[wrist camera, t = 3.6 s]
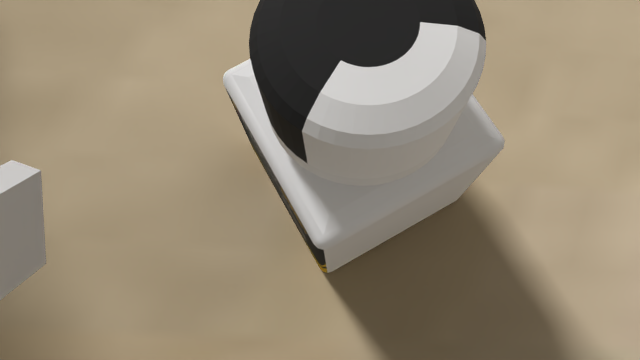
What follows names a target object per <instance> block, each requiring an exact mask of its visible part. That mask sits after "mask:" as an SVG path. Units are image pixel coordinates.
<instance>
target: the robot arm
mask: <svg viewBox="0 0 640 360" xmlns="http://www.w3.org/2000/svg"><path fill="white" fill-rule="evenodd" d="M45 264H46V253H45V235H44V217H43V199H42V181H41V170H38V169H35V168H33V167H30V166H27V165H24V164H21V163H19V162H16V161H13V160H11V161H9V162H7V163H5V164H3V165H1V166H0V300H1V299H2V298H4V297H5V296H6V295H7V294H9V293H10V292H11V291H12V290H14V289H15V288H16V287H17V286H19V285H20V284H21V283H22V282H24V281H25V280H26V279H27V278H29V277H30V276H31V275H32V274H34V273H35V272H36V271H37V270H39V269H40V268H41V267H43V266H44V265H45Z"/></svg>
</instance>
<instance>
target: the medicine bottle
mask: <svg viewBox="0 0 640 360" xmlns="http://www.w3.org/2000/svg"><path fill="white" fill-rule="evenodd" d="M249 49H250V59H249V60H247V61H245V62H243V63H241V64H239V65H237V66H235V67H233V68H231V69H229V70H228V71H227V72H225V74H224V76H223V83H224V86H225V88H226V90H227V92H228V95H229V97H230V99H231V101H232V103H233V106H234V108H235V110H236V112H237V114H238V116H239V119H240V121H241V123H242V125H243V127H244V130H245V132H246V134H247V136H248V138H249V141H250V143H251V145H252V147H253V149H254V151H255V153H256V154H257V156H258V158H259V160H260V162H261V163H262V165H263V167H264V169H265V171H266V172H267V174H268V176H269V178H270V180H271V181H272V183H273V185H274V187H275V189H276V190H277V192H278V194H279V196H280V198H281V199H282V201H283V203H284V205H285V206H286V208H287V210H288V212H289V214H290V215H291V217H292V219H293V221H294V223H295V224H296V226H297V228H298V230H299V232H300V233H301V235H302V237H303V239H304V241H305V242H306V244H307V246H308V248H309V249H310V251H311V253H312V255H313V257H314V258H315V260H316V262H317V264H318V266H319V267H320V269H321V270H322V271H323V272H326V273H329V272H332V271H334V270H336V269H337V268H339V267H341V266H343V265H344V264H346V263H348V262H350V261H351V260H353V259H355V258H357V257H358V256H360V255H362V254H364V253H365V252H367V251H369V250H371V249H372V248H374V247H376V246H378V245H379V244H381V243H383V242H385V241H386V240H388V239H390V238H392V237H393V236H395V235H397V234H399V233H400V232H402V231H404V230H406V229H407V228H409V227H411V226H413V225H414V224H416V223H418V222H420V221H421V220H423V219H425V218H427V217H428V216H430V215H432V214H434V213H435V212H437V211H439V210H441V209H442V208H444V207H446V206H448V205H449V204H451V203H453V202H455V201H456V200H457V199H458V198H459V197H460V196H461V195H462V194H463V193H464V192H465V191H466V190H467V188H468V187H469V186H470V185H471V184H472V183H473V182H474V181H475V179H476V178H477V177H478V176H479V175H480V174H481V173H482V172H483V170H484V169H485V168H486V167H487V166H488V165H489V164H490V163H491V161H492V160H493V159H494V158H495V157H496V156H497V155H498V154H499V152H500V151H501V150H502V149H503V147H504V138H503V136H502V134H501V133H500V132H499V130H498V129H497V127H496V126H495V125H494V123H493V122H492V121H491V119H490V118H489V116H488V115H487V114H486V112H485V111H484V109H483V108H482V107H481V105H480V104H479V102H478V101H477V100H476V98H475V97H474V96H473V94H472V93H473V92H474V90H475V88H476V86H477V84H478V82H479V79H480V76H481V73H482V71H483V66H484V61H485V56H486V37H485V29H484V24H483V21H482V18H481V14H480V11H479V9H478V7H477V5H476V3H475V1H474V0H260V2H259V4H258V6H257V9H256V11H255V13H254V17H253V21H252V24H251V29H250V39H249Z"/></svg>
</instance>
